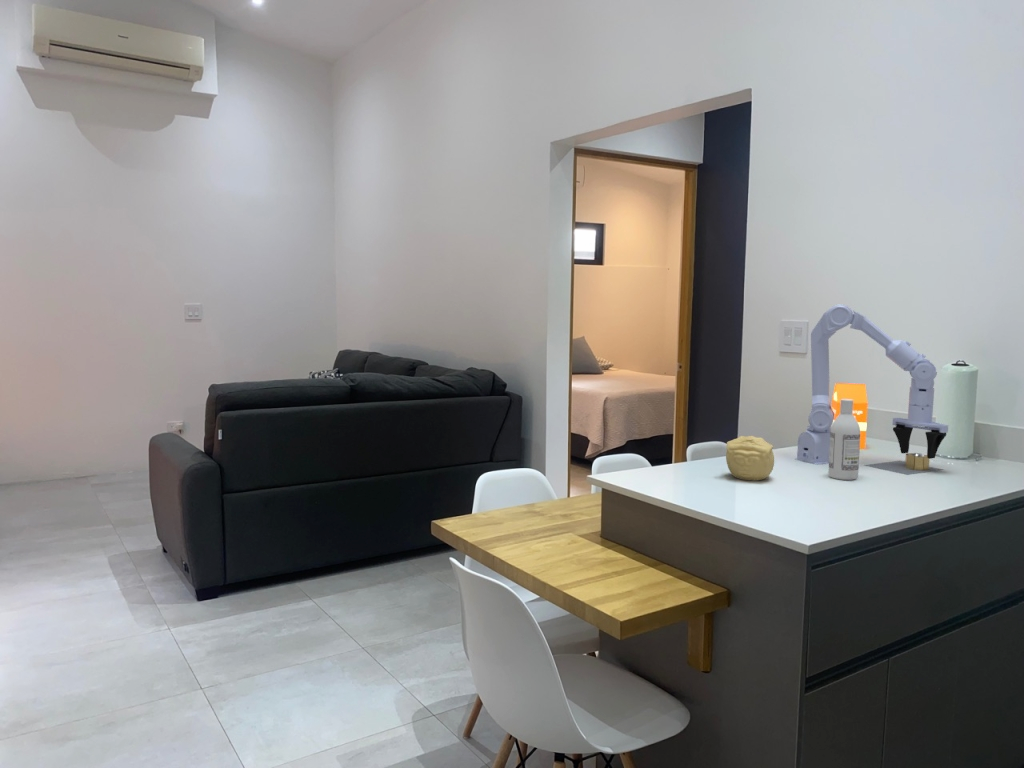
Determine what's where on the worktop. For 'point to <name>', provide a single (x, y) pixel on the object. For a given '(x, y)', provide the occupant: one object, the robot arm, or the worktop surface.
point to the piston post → (917, 454)
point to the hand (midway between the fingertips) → (917, 455)
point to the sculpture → (750, 458)
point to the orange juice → (859, 405)
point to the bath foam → (844, 444)
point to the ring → (916, 462)
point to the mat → (899, 467)
